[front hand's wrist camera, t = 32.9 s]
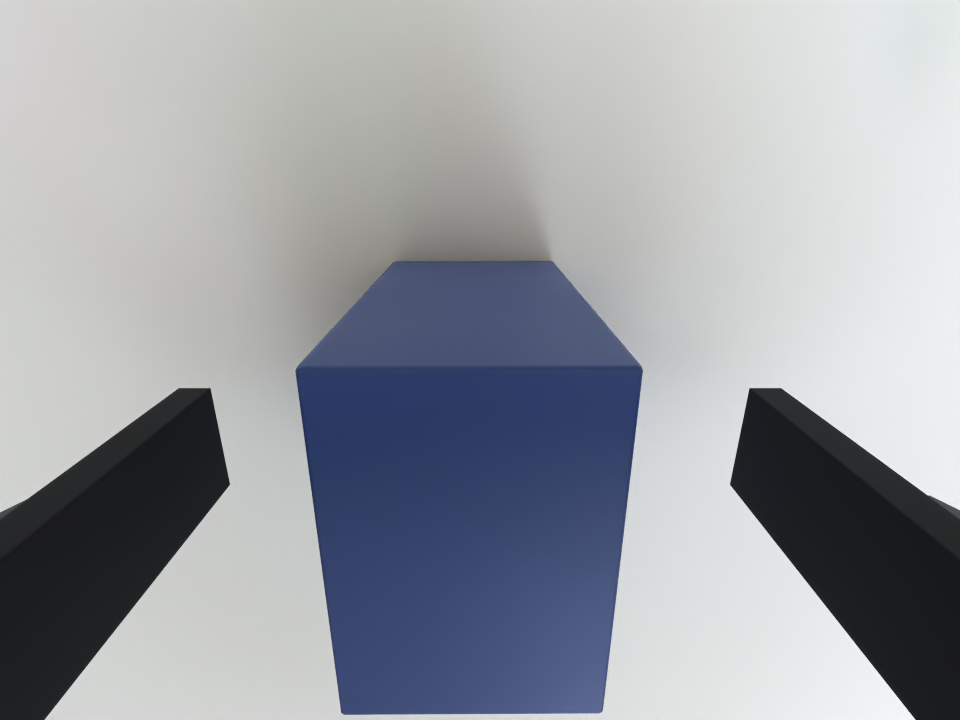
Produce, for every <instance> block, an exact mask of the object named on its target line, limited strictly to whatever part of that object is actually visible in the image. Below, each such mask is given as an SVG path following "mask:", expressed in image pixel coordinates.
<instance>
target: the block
mask: <svg viewBox="0 0 960 720" xmlns="http://www.w3.org/2000/svg"><path fill="white" fill-rule="evenodd" d="M642 373H643V370H642V367H641V365H640V364H639V363H638V362H637V361H636V359H635V358H634V357H633V356H632V355H631V354H630V352H629V351H628V350H627V349H626V348H625V346H624V345H623V344H622V343H621V342H620V341H619V339H618V338H617V337H616V336H615V335H614V333H613V332H612V331H611V330H610V329H609V328H608V326H607V325H606V324H605V323H604V322H603V320H602V319H601V318H600V317H599V316H598V315H597V313H596V312H595V311H594V310H593V309H592V307H591V306H590V305H589V304H588V303H587V302H586V300H585V299H584V298H583V297H582V296H581V295H580V293H579V292H578V291H577V290H576V289H575V287H574V286H573V285H572V284H571V283H570V282H569V280H568V279H567V278H566V277H565V276H564V274H563V273H562V272H561V271H560V270H559V269H558V267H557V266H556V265H555V264H554V263H553V262H394V263H393V264H392V265H391V266H390V267H389V268H388V269H387V270H386V271H385V272H384V273H383V274H382V276H381V277H380V278H379V279H378V280H377V281H376V282H375V283H374V284H373V285H372V286H371V287H370V289H369V290H368V291H367V292H366V293H365V294H364V295H363V296H362V297H361V298H360V299H359V300H358V302H357V303H356V304H355V305H354V306H353V307H352V308H351V309H350V310H349V311H348V312H347V313H346V315H345V316H344V317H343V318H342V319H341V320H340V321H339V322H338V323H337V324H336V325H335V326H334V328H333V329H332V330H331V331H330V332H329V333H328V334H327V335H326V336H325V337H324V338H323V339H322V341H321V342H320V343H319V344H318V345H317V346H316V347H315V348H314V349H313V350H312V351H311V352H310V354H309V355H308V356H307V357H306V358H305V359H304V360H303V361H302V362H301V363H300V364H299V365H298V367H297V368H296V378H297V385H298V393H299V400H300V408H301V415H302V423H303V430H304V438H305V445H306V453H307V460H308V468H309V475H310V483H311V490H312V497H313V505H314V512H315V520H316V527H317V535H318V542H319V550H320V557H321V565H322V572H323V580H324V587H325V595H326V602H327V609H328V617H329V624H330V632H331V639H332V647H333V654H334V662H335V669H336V677H337V684H338V692H339V699H340V706H341V713H342V714H345V715H373V714H547V713H601V712H602V711H603V704H604V695H605V687H606V678H607V670H608V661H609V653H610V644H611V636H612V627H613V619H614V611H615V602H616V594H617V585H618V577H619V568H620V560H621V551H622V543H623V534H624V526H625V517H626V509H627V500H628V492H629V483H630V475H631V466H632V458H633V449H634V441H635V432H636V424H637V415H638V407H639V398H640V390H641V381H642Z"/></svg>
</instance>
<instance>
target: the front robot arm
mask: <svg viewBox="0 0 960 720" xmlns="http://www.w3.org/2000/svg"><path fill="white" fill-rule="evenodd" d="M229 485H230V483H229V478H228V473H227V468H226V463H225V458H224V453H223V448H222V443H221V438H220V433H219V428H218V423H217V418H216V414H215V409H214V404H213V399H212V394H211V389H210V388H179V389H177V390H176V391H175V392H173V393H172V394H170V395H169V396H168V397H166V398H165V399H164V400H162V401H161V402H160V403H158V404H157V405H155V406H154V407H153V408H151V409H150V410H149V411H147V412H146V413H145V414H143V415H142V416H140V417H139V418H138V419H136V420H135V421H134V422H132V423H131V424H130V425H128V426H127V427H125V428H124V429H123V430H121V431H120V432H119V433H117V434H116V435H115V436H113V437H112V438H110V439H109V440H108V441H106V442H105V443H104V444H102V445H101V446H99V447H98V448H97V449H95V450H94V451H93V452H91V453H90V454H89V455H87V456H86V457H84V458H83V459H82V460H80V461H79V462H78V463H76V464H75V465H74V466H72V467H71V468H69V469H68V470H67V471H65V472H64V473H63V474H61V475H60V476H59V477H57V478H56V479H54V480H53V481H52V482H50V483H49V484H48V485H46V486H45V487H44V488H42V489H41V490H39V491H38V492H37V493H35V494H34V495H33V496H31V497H30V498H29V499H27V500H25V501H23V502H21V503H19V504H17V505H15V506H13V507H11V508H9V509H7V510H5V511H3V512H1V513H0V720H45V718H46V717H47V716H48V714H49V713H50V712H51V711H52V709H53V708H54V707H55V706H56V704H57V703H58V702H59V701H60V699H61V698H62V697H63V695H64V694H65V693H66V692H67V690H68V689H69V688H70V687H71V685H72V684H73V683H74V682H75V680H76V679H77V678H78V676H79V675H80V674H81V673H82V671H83V670H84V669H85V668H86V666H87V665H88V664H89V663H90V661H91V660H92V659H93V657H94V656H95V655H96V654H97V652H98V651H99V650H100V649H101V647H102V646H103V645H104V643H105V642H106V641H107V640H108V638H109V637H110V636H111V635H112V633H113V632H114V631H115V630H116V628H117V627H118V626H119V624H120V623H121V622H122V621H123V619H124V618H125V617H126V616H127V614H128V613H129V612H130V611H131V609H132V608H133V607H134V605H135V604H136V603H137V602H138V600H139V599H140V598H141V597H142V595H143V594H144V593H145V592H146V590H147V589H148V588H149V586H150V585H151V584H152V583H153V581H154V580H155V579H156V578H157V576H158V575H159V574H160V573H161V571H162V570H163V569H164V567H165V566H166V565H167V564H168V562H169V561H170V560H171V559H172V557H173V556H174V555H175V554H176V552H177V551H178V550H179V548H180V547H181V546H182V545H183V543H184V542H185V541H186V540H187V538H188V537H189V536H190V535H191V533H192V532H193V531H194V529H195V528H196V527H197V526H198V524H199V523H200V522H201V521H202V519H203V518H204V517H205V516H206V514H207V513H208V512H209V510H210V509H211V508H212V507H213V505H214V504H215V503H216V502H217V500H218V499H219V498H220V497H221V495H222V494H223V493H224V491H225V490H226V489H227V488H228V486H229ZM730 485H731V486H732V488H733V489H734V490H735V491H736V493H737V494H738V495H739V497H740V498H741V499H742V500H743V502H744V503H745V504H746V505H747V507H748V508H749V509H750V510H751V512H752V513H753V514H754V516H755V517H756V518H757V519H758V521H759V522H760V523H761V524H762V526H763V527H764V528H765V529H766V531H767V532H768V533H769V535H770V536H771V537H772V538H773V540H774V541H775V542H776V543H777V545H778V546H779V547H780V548H781V550H782V551H783V552H784V554H785V555H786V556H787V557H788V559H789V560H790V561H791V562H792V564H793V565H794V566H795V567H796V569H797V570H798V571H799V573H800V574H801V575H802V576H803V578H804V579H805V580H806V581H807V583H808V584H809V585H810V586H811V588H812V589H813V590H814V592H815V593H816V594H817V595H818V597H819V598H820V599H821V600H822V602H823V603H824V604H825V605H826V607H827V608H828V609H829V611H830V612H831V613H832V614H833V616H834V617H835V618H836V619H837V621H838V622H839V623H840V624H841V626H842V627H843V628H844V630H845V631H846V632H847V633H848V635H849V636H850V637H851V638H852V640H853V641H854V642H855V643H856V645H857V646H858V647H859V649H860V650H861V651H862V652H863V654H864V655H865V656H866V657H867V659H868V660H869V661H870V663H871V664H872V665H873V666H874V668H875V669H876V670H877V671H878V673H879V674H880V675H881V676H882V678H883V679H884V680H885V682H886V683H887V684H888V685H889V687H890V688H891V689H892V690H893V692H894V693H895V694H896V695H897V697H898V698H899V699H900V701H901V702H902V703H903V704H904V706H905V707H906V708H907V709H908V711H909V712H910V713H911V714H912V716H913V717H914V718H915V720H960V510H958V509H956V508H954V507H952V506H950V505H948V504H946V503H944V502H942V501H940V500H938V499H936V498H933V497H931V496H927V495H926V494H925V493H923V492H922V491H921V490H919V489H918V488H916V487H915V486H914V485H912V484H911V483H910V482H908V481H907V480H906V479H904V478H903V477H901V476H900V475H899V474H897V473H896V472H895V471H893V470H892V469H891V468H889V467H888V466H886V465H885V464H884V463H882V462H881V461H880V460H878V459H877V458H876V457H874V456H873V455H871V454H870V453H869V452H867V451H866V450H865V449H863V448H862V447H861V446H859V445H858V444H856V443H855V442H854V441H852V440H851V439H850V438H848V437H847V436H845V435H844V434H843V433H841V432H840V431H839V430H837V429H836V428H835V427H833V426H832V425H830V424H829V423H828V422H826V421H825V420H824V419H822V418H821V417H820V416H818V415H817V414H815V413H814V412H813V411H811V410H810V409H809V408H807V407H806V406H805V405H803V404H802V403H800V402H799V401H798V400H796V399H795V398H794V397H792V396H791V395H790V394H788V393H787V392H785V391H784V390H783V389H781V388H750V389H749V394H748V399H747V404H746V409H745V414H744V418H743V423H742V428H741V433H740V438H739V443H738V448H737V453H736V458H735V463H734V468H733V473H732V478H731V483H730Z"/></svg>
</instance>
